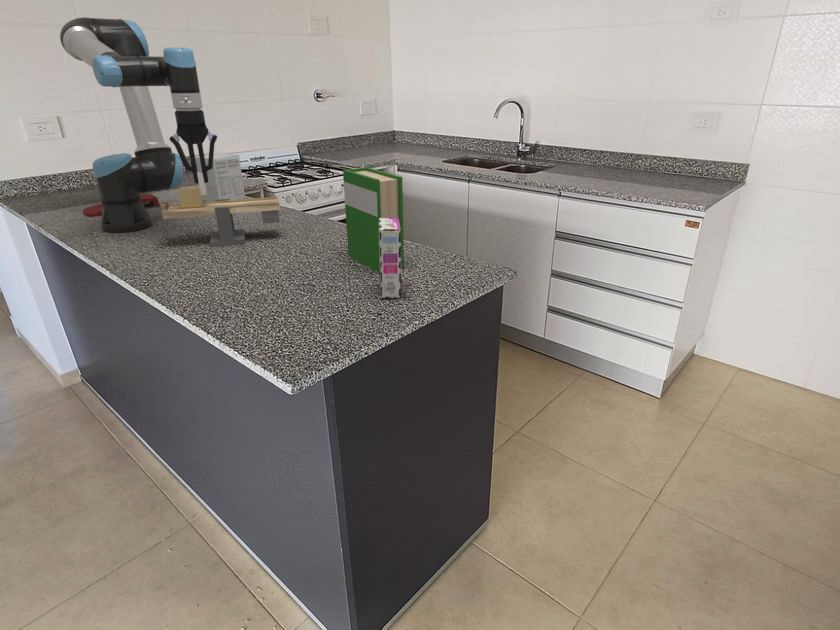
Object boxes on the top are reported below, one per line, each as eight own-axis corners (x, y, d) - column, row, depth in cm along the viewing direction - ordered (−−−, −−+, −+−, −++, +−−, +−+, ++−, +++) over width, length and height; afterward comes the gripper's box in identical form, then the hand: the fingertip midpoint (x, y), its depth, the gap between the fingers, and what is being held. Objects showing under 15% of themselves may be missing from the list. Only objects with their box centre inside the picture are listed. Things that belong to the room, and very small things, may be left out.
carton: (92, 227, 191) (161, 207, 203) (86, 215, 188) (157, 195, 200) (87, 221, 199) (153, 202, 212) (81, 209, 197) (149, 190, 209)
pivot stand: (212, 236, 166) (206, 200, 161) (244, 233, 169) (239, 198, 164) (210, 247, 156) (203, 209, 151) (245, 243, 158) (239, 206, 154)
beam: (169, 224, 160) (164, 199, 157) (279, 215, 169) (276, 192, 166) (166, 232, 152) (160, 206, 148) (281, 222, 160) (278, 198, 157)
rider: (182, 206, 157) (178, 186, 154) (204, 205, 159) (200, 185, 156) (181, 210, 153) (177, 189, 150) (203, 208, 154) (199, 188, 152)
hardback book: (403, 268, 138) (402, 176, 128) (379, 274, 134) (376, 180, 124) (371, 251, 151) (367, 167, 141) (348, 256, 147) (342, 170, 137)
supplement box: (246, 197, 218) (240, 154, 211) (220, 203, 208) (212, 158, 201) (225, 194, 225) (218, 152, 217) (199, 200, 215) (191, 156, 207)
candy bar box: (402, 298, 119) (401, 229, 112) (380, 299, 119) (378, 230, 112) (400, 281, 129) (398, 216, 123) (380, 282, 129) (377, 217, 122)
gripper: (161, 111, 140) (179, 198, 150) (212, 109, 144) (226, 195, 154) (164, 109, 146) (181, 193, 156) (213, 108, 150) (227, 190, 160)
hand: (203, 194), depth 155 cm, fingers closed
